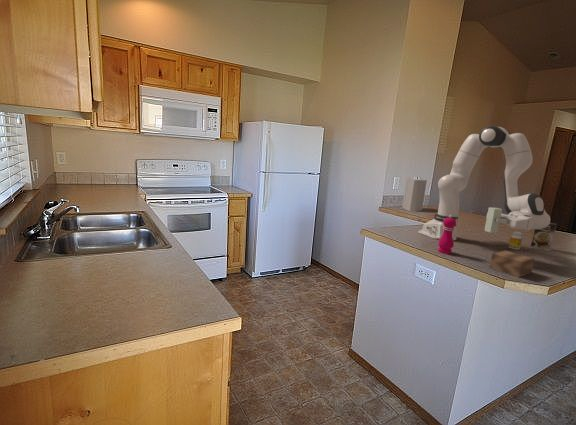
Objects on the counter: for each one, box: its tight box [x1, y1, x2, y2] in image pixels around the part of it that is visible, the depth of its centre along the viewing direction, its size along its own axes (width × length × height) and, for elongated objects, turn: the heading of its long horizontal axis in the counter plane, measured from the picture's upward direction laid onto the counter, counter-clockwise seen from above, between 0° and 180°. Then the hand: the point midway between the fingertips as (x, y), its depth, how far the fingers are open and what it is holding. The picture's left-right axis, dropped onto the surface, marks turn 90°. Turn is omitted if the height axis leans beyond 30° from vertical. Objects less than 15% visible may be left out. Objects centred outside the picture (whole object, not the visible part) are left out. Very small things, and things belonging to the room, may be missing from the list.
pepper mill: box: [437, 215, 457, 255], centre depth 164 cm, size 7×7×20 cm
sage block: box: [483, 207, 503, 234], centre depth 158 cm, size 4×4×12 cm
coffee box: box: [530, 222, 558, 253], centre depth 185 cm, size 9×6×16 cm
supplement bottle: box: [508, 230, 523, 250], centre depth 183 cm, size 5×5×10 cm
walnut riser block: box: [489, 250, 535, 278], centre depth 144 cm, size 12×12×7 cm
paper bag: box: [402, 177, 428, 212], centre depth 291 cm, size 19×15×28 cm
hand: (491, 218), depth 158 cm, fingers closed on sage block, 4 cm apart
